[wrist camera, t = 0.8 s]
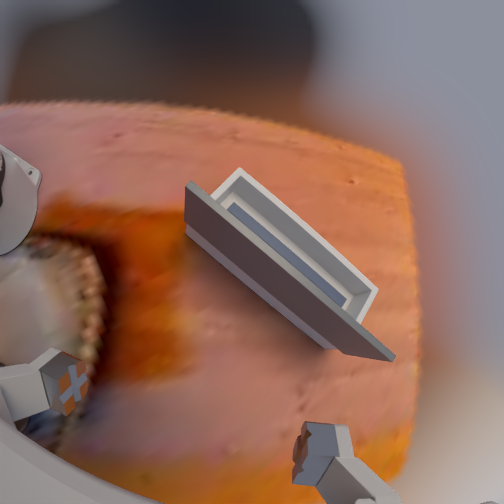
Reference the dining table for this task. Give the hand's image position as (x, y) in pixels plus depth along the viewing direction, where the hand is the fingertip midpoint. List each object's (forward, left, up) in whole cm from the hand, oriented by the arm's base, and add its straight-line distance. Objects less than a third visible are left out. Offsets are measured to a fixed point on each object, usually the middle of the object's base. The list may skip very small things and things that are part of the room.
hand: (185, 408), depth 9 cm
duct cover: (+4, +14, -20) cm, 25 cm away
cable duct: (+4, +20, -32) cm, 38 cm away
